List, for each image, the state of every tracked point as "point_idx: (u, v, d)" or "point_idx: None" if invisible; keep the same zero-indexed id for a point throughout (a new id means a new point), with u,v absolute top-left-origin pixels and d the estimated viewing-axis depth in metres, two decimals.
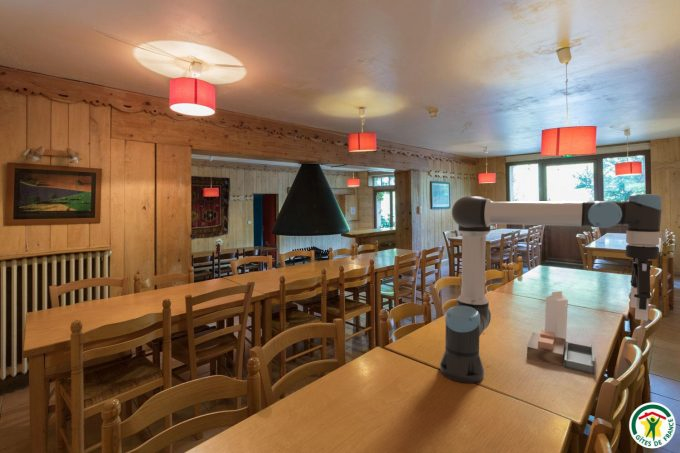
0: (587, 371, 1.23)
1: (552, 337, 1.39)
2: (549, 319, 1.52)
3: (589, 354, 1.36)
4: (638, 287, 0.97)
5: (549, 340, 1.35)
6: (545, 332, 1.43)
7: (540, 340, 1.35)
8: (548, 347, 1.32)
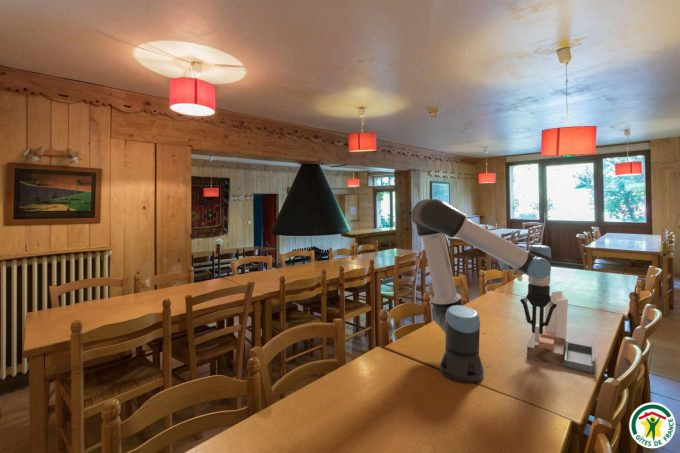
0: (587, 371, 1.23)
1: (552, 337, 1.39)
2: None
3: (589, 354, 1.36)
4: None
5: (549, 340, 1.34)
6: (545, 332, 1.43)
7: (540, 340, 1.35)
8: (548, 347, 1.32)
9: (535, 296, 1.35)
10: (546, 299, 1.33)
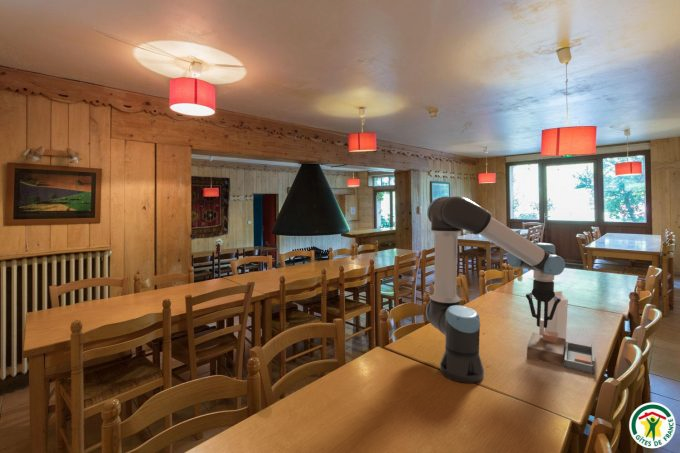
0: (587, 371, 1.23)
1: (555, 338, 1.38)
2: None
3: (589, 354, 1.36)
4: None
5: None
6: (548, 332, 1.42)
7: None
8: (579, 361, 1.27)
9: (540, 291, 1.42)
10: (550, 294, 1.40)
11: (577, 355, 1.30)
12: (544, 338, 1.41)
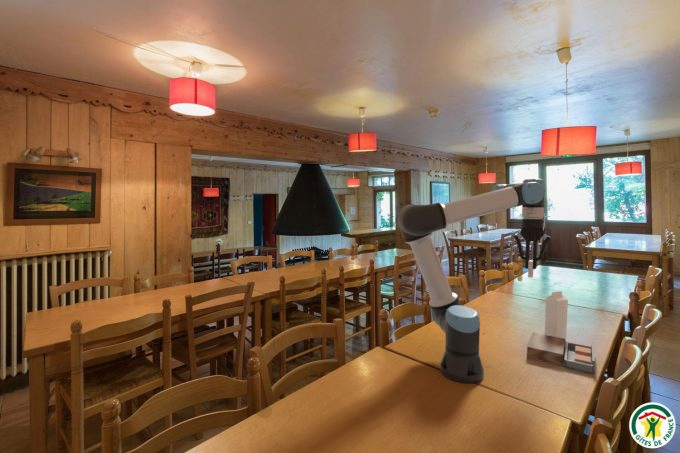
0: (587, 371, 1.23)
1: None
2: (549, 319, 1.52)
3: None
4: None
5: None
6: None
7: None
8: (579, 361, 1.27)
9: (529, 231, 1.33)
10: (540, 233, 1.31)
11: (577, 355, 1.30)
12: (588, 354, 1.32)
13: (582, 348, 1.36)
